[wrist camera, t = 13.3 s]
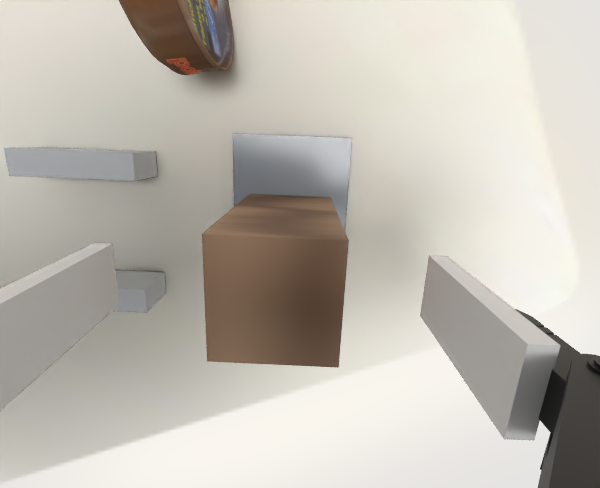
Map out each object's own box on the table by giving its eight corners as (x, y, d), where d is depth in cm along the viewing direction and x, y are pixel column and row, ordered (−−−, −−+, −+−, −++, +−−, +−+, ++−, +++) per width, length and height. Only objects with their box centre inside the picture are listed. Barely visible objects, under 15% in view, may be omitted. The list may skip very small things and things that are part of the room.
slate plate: (237, 311, 25) (235, 317, 24) (235, 133, 21) (233, 133, 21) (337, 316, 25) (338, 321, 24) (350, 138, 21) (352, 137, 21)
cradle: (66, 288, 25) (34, 307, 22) (44, 147, 22) (4, 147, 19) (166, 292, 24) (147, 312, 22) (155, 151, 22) (132, 153, 19)
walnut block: (249, 270, 23) (207, 361, 13) (249, 193, 22) (202, 234, 12) (325, 273, 23) (338, 367, 13) (330, 197, 22) (348, 240, 12)
